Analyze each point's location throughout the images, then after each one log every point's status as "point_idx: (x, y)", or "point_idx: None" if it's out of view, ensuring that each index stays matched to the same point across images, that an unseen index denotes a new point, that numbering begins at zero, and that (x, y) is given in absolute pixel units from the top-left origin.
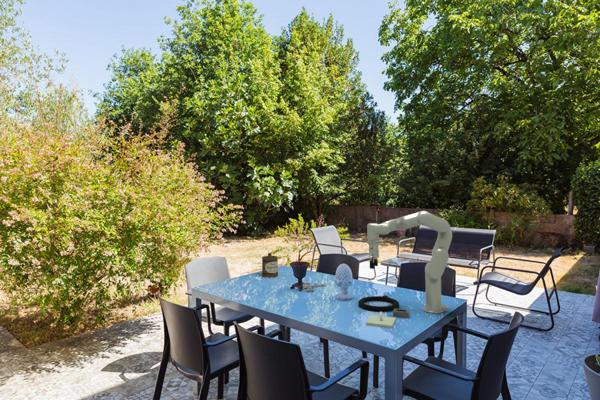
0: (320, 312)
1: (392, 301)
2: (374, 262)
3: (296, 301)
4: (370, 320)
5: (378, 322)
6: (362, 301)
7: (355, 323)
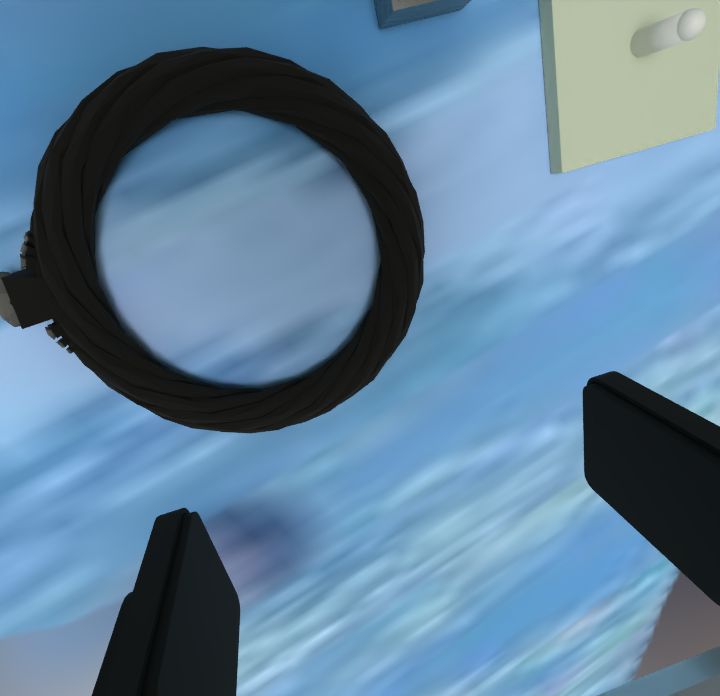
0: (578, 476)
1: (104, 169)
2: (218, 676)
3: (463, 669)
4: (670, 119)
5: (693, 40)
6: (321, 382)
7: (687, 209)
